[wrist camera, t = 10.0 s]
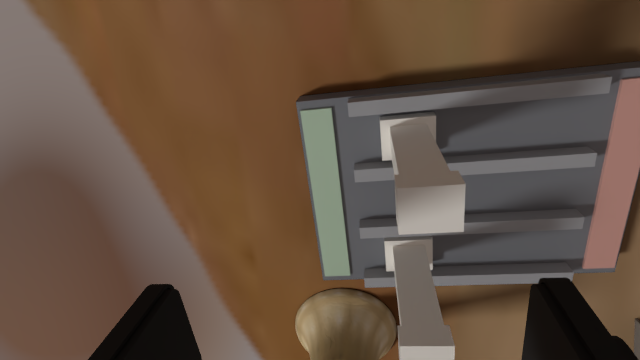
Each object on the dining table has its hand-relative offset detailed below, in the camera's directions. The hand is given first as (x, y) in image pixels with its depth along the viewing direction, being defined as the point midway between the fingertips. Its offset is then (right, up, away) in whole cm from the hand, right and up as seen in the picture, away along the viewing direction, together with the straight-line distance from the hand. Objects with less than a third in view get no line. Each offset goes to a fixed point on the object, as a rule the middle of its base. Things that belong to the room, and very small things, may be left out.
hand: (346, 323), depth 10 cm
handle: (+5, -1, +15) cm, 16 cm away
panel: (+8, +4, +14) cm, 17 cm away
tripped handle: (+4, +6, +12) cm, 14 cm away
